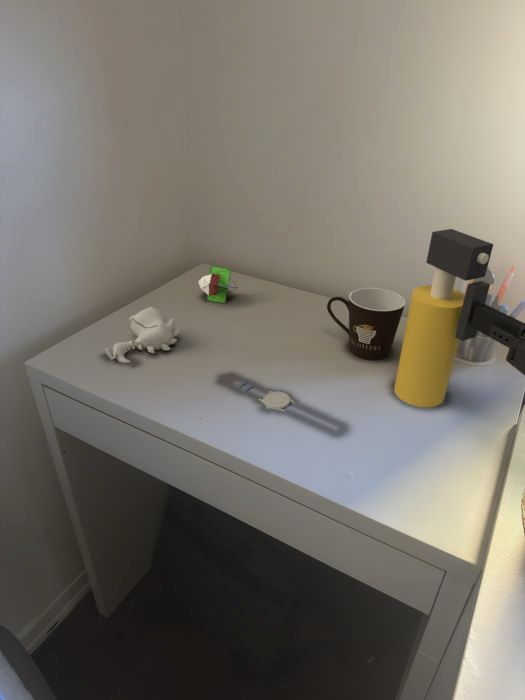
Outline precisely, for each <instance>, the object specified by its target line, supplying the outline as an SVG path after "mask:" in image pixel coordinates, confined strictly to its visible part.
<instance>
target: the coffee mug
mask: <svg viewBox="0 0 525 700" xmlns="http://www.w3.org/2000/svg"><path fill="white" fill-rule="evenodd" d="M336 301H338V302H342V303H343V304H344V305H345V307H346V308H347V310H348V327H347V326H346V325H345V324H344V323H343V322H341V320H339V319H338V318H337V317H336V316H335V314H334V312H333V310H332V307H331V306H332V303H333V302H336ZM405 306H406V300H405V298H404V296H402V295H400V294H399V293H397V292H395V291H392V290H389V289H385V288H379V287H362V288H358V289H355V290H352V291H351V292H350V293H349V295H348V300H347V299H346V298H344V297H343V296H333V297H331V298H330V299H329V300H328V302H327V303H326V309H327V312H328V314H329V316H330V317H331V318H332V320H333V321H334V322H335V323H336V325H338V326H339V327H340V328H341V329H342V330H343V331H344V332H345V333H347V335H348V350H349V352H350V353H351V355H353V356H354V357H356V358H358V359H361V360H365V361H370V362H371V361H373V362H374V361H381V360H385V359H386V358H388V357H389V356H390V353H391V351H392V347H393V344H394V341H395V337H396V335H397V332H398V329H399V325H400V322H401V318H402V315H403V312H404V308H405Z"/></svg>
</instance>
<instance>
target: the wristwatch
mask: <svg viewBox="0 0 525 700" xmlns="http://www.w3.org/2000/svg"><path fill="white" fill-rule="evenodd" d="M246 384H247V385H246ZM244 385H245V386H244ZM243 386H244V387H243ZM242 387H243V388H242ZM253 387H254V385H253V384H252V383H247V382H246V381H244V380H242V381H240V382H239V383H237V384H236V385H235V386H234V388H236V389H238V390H239V389H241V388H242V389H241V391H242V392H245V393H246V392H247V391H248V390H249V389H251V388H253ZM258 400H259V401H260V402H261V403H262V404H263V405H264V406H265V408H266V409H267V410H275V411H280V412H281V411H282V412H286V410H285V409H284V408H287V407H288V406H289V405H290V403H292V404H296V402H295V401H294V400H293V399H292V398H291V396H289V394H287V392H283V391H278V390H275V391H269V390H268V393H266V394H265V395H264V396H263V399H261V398H258Z"/></svg>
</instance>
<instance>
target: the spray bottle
mask: <svg viewBox="0 0 525 700" xmlns="http://www.w3.org/2000/svg"><path fill="white" fill-rule="evenodd" d="M493 247H494V243H492V242H489V241H486V240H483V239H480V238H478V237H475V236H472V235H469V234H466V233H464V232H461V231H459V230H456V229H453V228H447V229H442V230H435V231H431V236H430V242H429V246H428V252H427V256H426V264H428V265H430V266H433V267H434V268H435V269H434V273H433V277H432V278H433V279H432V283H431V284H428V285H421V286H417V287H415V288H413V290H412V293H411V298H410V304H409V308H408V314H407V319H406V325H405V329H404V330H405V331H404V335H403V340H402V346H401V351H400V356H399V361H398V368H397V372H396V377H395V383H394V389H393V390H394V394H395V395H396V397H398V399H400V400H401V401H403V402H405V403H406V404H409V405H411V406H414V407H419V408H433V407H437V406H440V405H442V404H443V402H444V401H445V399H446V394H447V391H448V385H449V382H450V380H451V379H450V378H451V374H452V371H453V367H454V363H455V359H456V354H457V351H458V347H459V344H460V340H459V339H457V338H456V337H455V334H456V330H457V326H458V322H459V318H460V314H461V310H462V306H463V302H464V298H465V294H466V293H464V292H462V291H460V290H458V289H456V288H454V287H455V283H456V278H458V279H460V280H463V281H465V282H468V281H472V280H477V279H481V278H485V277H486V274H487V270H488V266H489V263H490V259H491V257H492V251H493Z"/></svg>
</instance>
